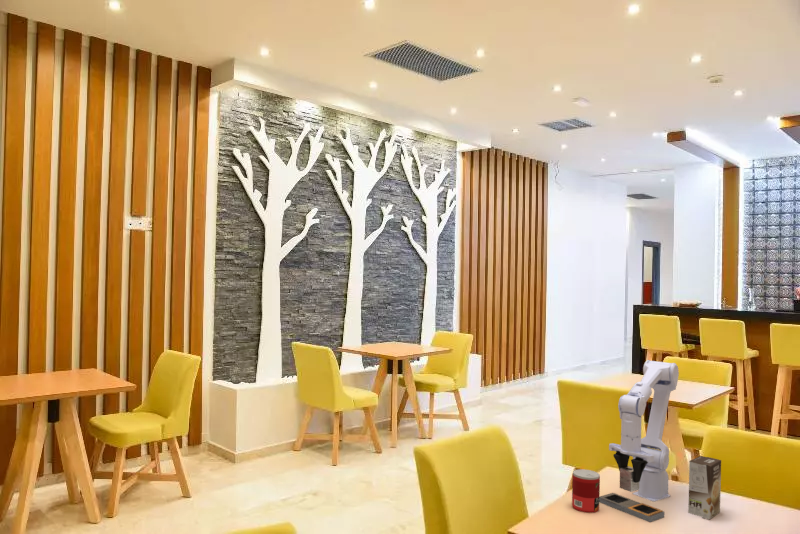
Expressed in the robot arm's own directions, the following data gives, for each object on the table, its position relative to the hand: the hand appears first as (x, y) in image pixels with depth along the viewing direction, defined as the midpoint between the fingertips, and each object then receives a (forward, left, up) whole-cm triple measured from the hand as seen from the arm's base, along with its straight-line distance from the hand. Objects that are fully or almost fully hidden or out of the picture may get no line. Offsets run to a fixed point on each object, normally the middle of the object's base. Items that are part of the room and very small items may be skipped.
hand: (630, 479), depth 187 cm
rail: (0, 0, -9) cm, 9 cm away
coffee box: (-18, +13, -10) cm, 24 cm away
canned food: (+11, -8, -10) cm, 17 cm away
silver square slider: (0, 0, -3) cm, 3 cm away
